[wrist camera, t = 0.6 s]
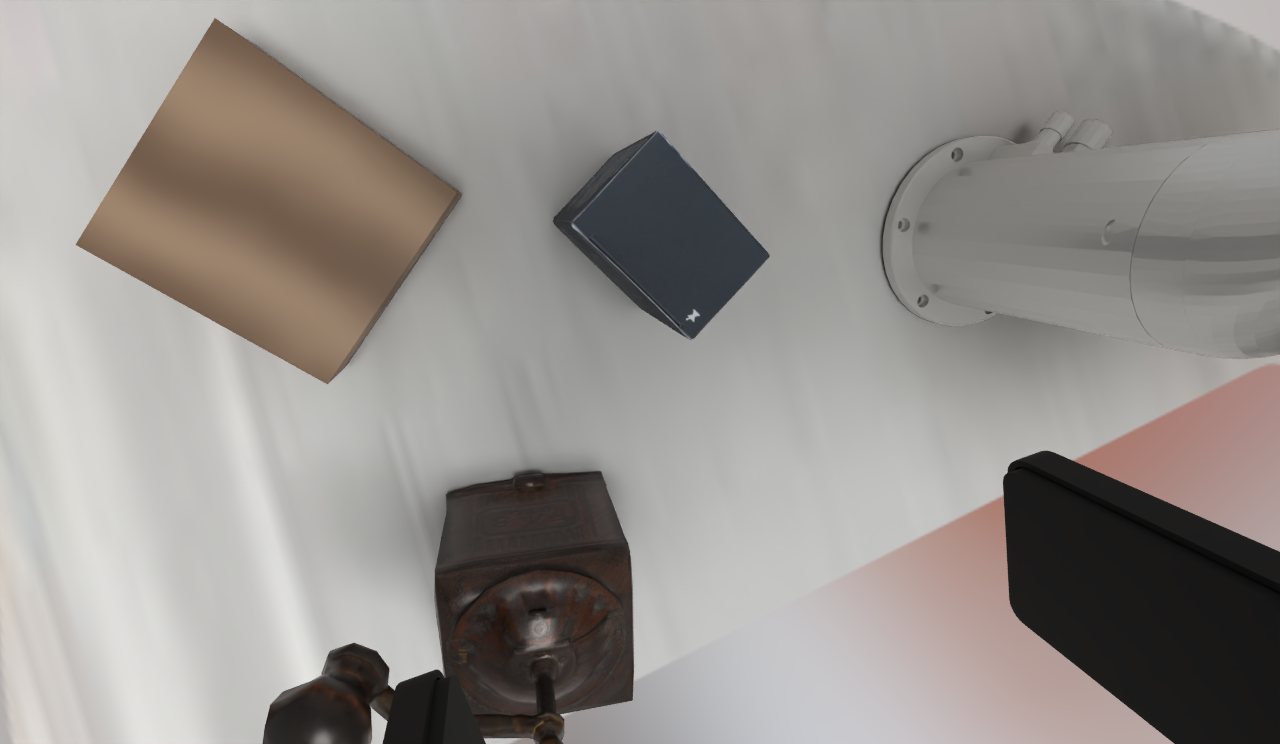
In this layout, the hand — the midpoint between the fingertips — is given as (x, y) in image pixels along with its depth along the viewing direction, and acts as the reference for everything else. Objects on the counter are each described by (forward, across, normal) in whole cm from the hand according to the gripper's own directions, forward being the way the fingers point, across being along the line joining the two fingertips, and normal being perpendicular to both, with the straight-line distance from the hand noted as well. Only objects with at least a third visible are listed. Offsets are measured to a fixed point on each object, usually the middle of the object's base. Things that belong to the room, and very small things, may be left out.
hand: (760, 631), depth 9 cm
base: (+29, +12, -9) cm, 33 cm away
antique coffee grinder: (+29, +9, +14) cm, 33 cm away
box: (+29, -5, -4) cm, 30 cm away
